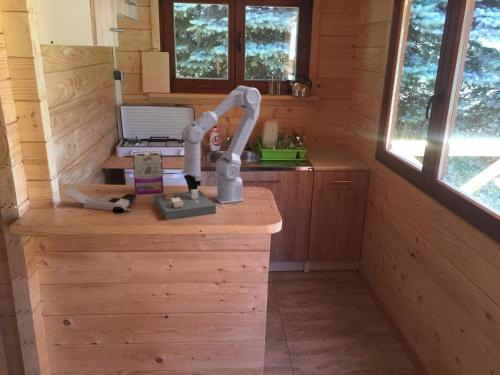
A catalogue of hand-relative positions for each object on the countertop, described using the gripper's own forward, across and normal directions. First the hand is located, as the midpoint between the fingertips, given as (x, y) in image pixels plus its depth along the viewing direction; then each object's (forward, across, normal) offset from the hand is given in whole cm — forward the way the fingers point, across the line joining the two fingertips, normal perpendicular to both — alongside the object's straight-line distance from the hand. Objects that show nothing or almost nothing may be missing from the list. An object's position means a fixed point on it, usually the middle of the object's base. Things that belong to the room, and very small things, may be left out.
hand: (192, 194), depth 156 cm
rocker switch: (0, +7, -8) cm, 11 cm away
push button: (+4, -3, -8) cm, 9 cm away
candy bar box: (+4, -20, -12) cm, 24 cm away
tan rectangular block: (+1, +2, 0) cm, 2 cm away
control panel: (+4, +2, -4) cm, 6 cm away
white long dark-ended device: (+5, -9, -32) cm, 34 cm away
